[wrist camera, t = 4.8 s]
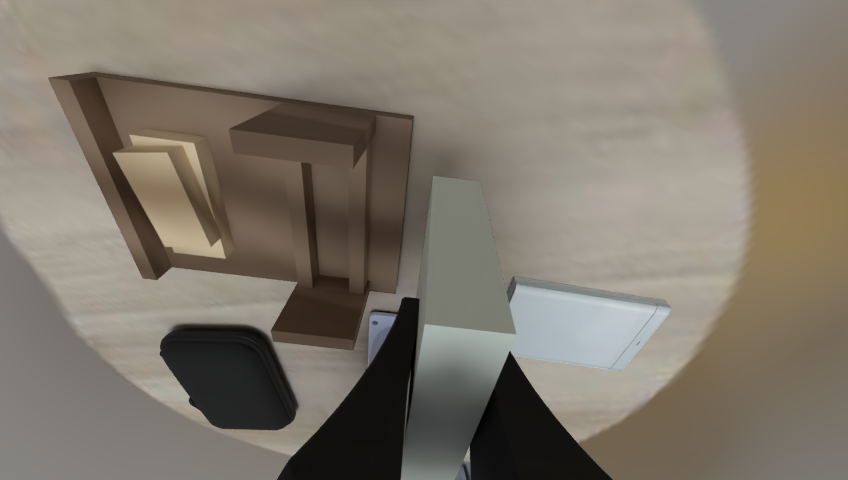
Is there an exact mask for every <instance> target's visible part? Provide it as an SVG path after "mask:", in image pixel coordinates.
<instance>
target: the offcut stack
mask: <svg viewBox="0 0 848 480" xmlns="http://www.w3.org/2000/svg"><path fill="white" fill-rule="evenodd" d="M129 136H130V138H131V141H132V144H133V146H129V147H126V148H124V149H121V150H118V151H116V152H113V155H114V157H115V158H116V160H117V162H118V164H119V166H120V167H121V169H122V171H123V173H124V175H125V176H126V178H127V180H128V182H129V183H130V185H131V187H132V189H133V191H134V192H135V194H136V196H137V198H138V200H139V201H140V203H141V205H142V207H143V208H144V210H145V212H146V214H147V216H148V217H149V219H150V221H151V223H152V225H153V226H154V228H155V230H156V232H157V234H158V235H159V237H160V239H161V241H162V242H163V244H164V246H165V247H172V248H173V251H174V253H182V254H191V255H199V256H207V257H215V258H224V259H226V258H227V257H228V256H229V255H230V254H231V253H232V252H233V251H234V249H235V246H234V242H233V238H232V234H231V230H230V226H229V222H228V218H227V214H226V210H225V206H224V202H223V198H222V194H221V190H220V186H219V182H218V178H217V174H216V170H215V166H214V162H213V158H212V154H211V150H210V146H209V142H208V138H207V137H203V136H195V135H188V134H180V133H173V132H165V131H158V130H150V129H144V130H141V131H138V132H135V133H132V134H129Z"/></svg>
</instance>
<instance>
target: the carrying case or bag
mask: <svg viewBox="0 0 848 480" xmlns="http://www.w3.org/2000/svg"><path fill="white" fill-rule="evenodd" d="M160 349H161V352H160V356H161V357H163V359H164V361H165V363H166V364H167V366H168V367H169V369H170V370H171V371H172V373H173V374H174V376H175V377H176V378H177V380H178V381H179V382H180V384H181V385H182V387H183V388H184V389H185V391H186V392H187V393H188V395H189V396H190V398H189V403H190V404H191V405H192V406H193V407H195V408H197V409H199V410H200V411H201V412H202V413H203V414H204V416H205V417H206V418H207V419H208V421H209V422H210V423H211V424H212V425H214V426H216V427H218V428H222V429H251V430H279V429H282V428H284V427H286V426H287V425H288V424H290V423H291V422H292V421H293V420H294V418H295V415H296V410H295V407H294V404H293V402H292V400H291V397H290V395H289V392H288V390H287V388H286V385H285V383H284V381H283V379H282V376H281V374H280V372H279V370H278V367H277V365H276V363H275V361H274V359H273V357H272V354H271V352H270V350H269V348H268V346H267V344H266V342H265V340H264V339H263V337H262V336H261V335H260V334H259V333H257V332H254V331H251V330H217V329H185V330H178V331H173V332H171V333H169V334H167V335H166V336H165V337H164V338H163V339H162V341H161V345H160Z"/></svg>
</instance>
